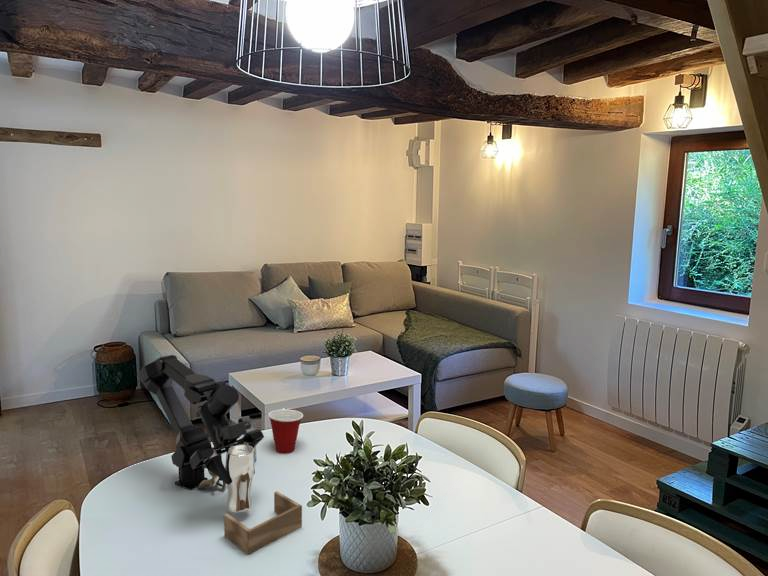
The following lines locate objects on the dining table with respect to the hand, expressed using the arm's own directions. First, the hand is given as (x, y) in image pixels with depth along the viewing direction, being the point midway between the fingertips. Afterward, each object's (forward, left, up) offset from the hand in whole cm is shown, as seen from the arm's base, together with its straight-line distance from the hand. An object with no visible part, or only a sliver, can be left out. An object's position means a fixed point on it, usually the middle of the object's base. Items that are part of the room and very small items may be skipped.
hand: (241, 479), depth 143 cm
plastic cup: (-13, +36, -10) cm, 40 cm away
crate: (+8, -2, -10) cm, 13 cm away
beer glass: (-1, 0, -8) cm, 8 cm away
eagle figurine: (-17, +7, -10) cm, 21 cm away
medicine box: (-17, +21, -10) cm, 29 cm away
